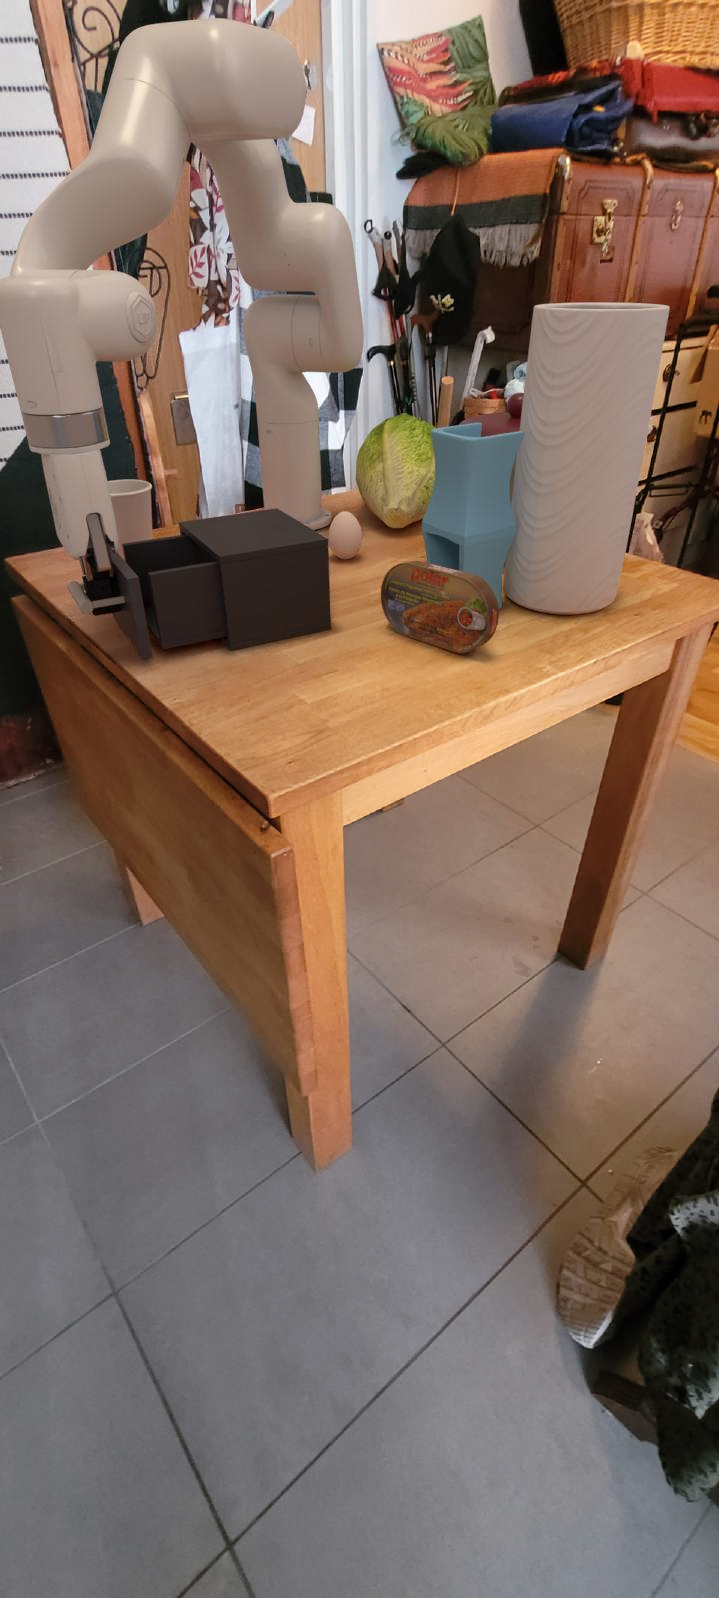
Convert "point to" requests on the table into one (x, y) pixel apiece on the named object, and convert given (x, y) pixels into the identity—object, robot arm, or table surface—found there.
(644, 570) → the table surface
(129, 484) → the dixie cup
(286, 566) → the cabinet
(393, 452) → the lettuce
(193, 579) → the drawer
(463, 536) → the vase
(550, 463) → the vase
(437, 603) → the tin
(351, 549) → the egg
